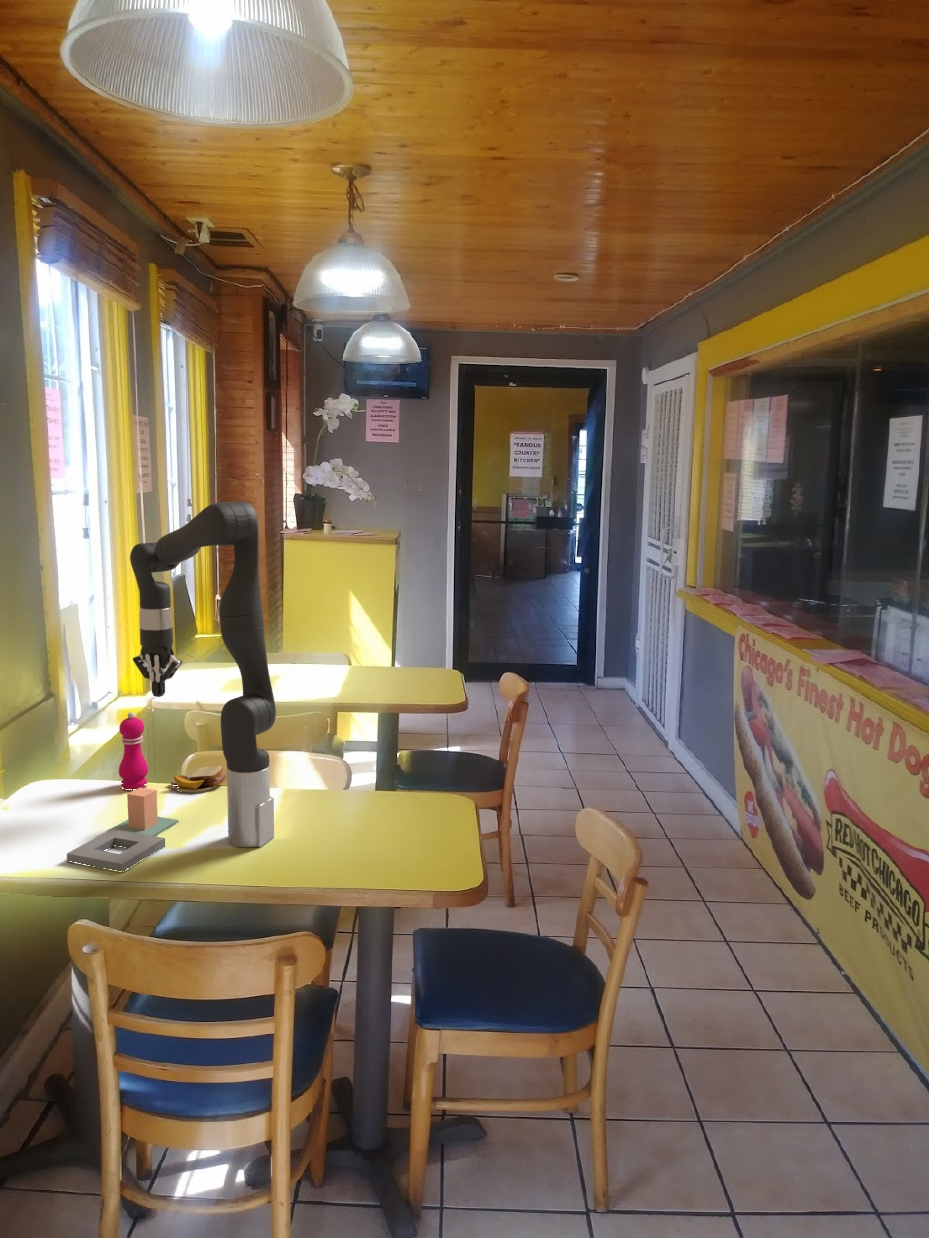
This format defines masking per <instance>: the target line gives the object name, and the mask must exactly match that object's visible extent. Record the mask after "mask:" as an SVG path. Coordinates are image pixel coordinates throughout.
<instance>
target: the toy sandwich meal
mask: <svg viewBox="0 0 929 1238" xmlns="http://www.w3.org/2000/svg"><path fill="white" fill-rule="evenodd" d="M225 780H227V774H226V772H225V770H224V767H223V765H218V766H217V765H215V766H207V767H205V766H204V767H199V768H198V769H196V771H194V772H193V773H191V774H189V773H188V774H186V775H173V778H172V779H171V780H170V782H171V783H170V786H171V788H172V789H173V790H175V789H176V790H179V791H182V792H181V793H183V792H188V793H187V794H199V793H206V792H209V791H212V790H215V789H216V788H217V787H218V786H220V785H221V784H222V783H223V782H225ZM173 785H178V786H173ZM177 787H179V788H177ZM176 790H175V791H176ZM179 791H178V792H179Z"/></svg>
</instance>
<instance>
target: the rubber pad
mask: <svg viewBox="0 0 929 1238" xmlns="http://www.w3.org/2000/svg"><path fill="white" fill-rule="evenodd" d="M157 818H158V823H157V824H155V825H153V826H152V827H150V828H148V829H146V830H141V829H136V828H130V827H129V824H128V819H126V820H124V821H123V822H121V823H118V824H117V825H115V826H113V827H112V828H110V829H108V830H107V831H109V830H111V829H116V830H122V831H128V832H133V833H139V834H145V835H150V836H156V835H157V834H158V835H160V834H161V833H160V832H162V831H163V832H165V831H167V830H168V829H170V828H171V827H174V826H176V825H177V824H178V823H179V819H175V818H171V817H170V818H169V817H163V816H158V815H157ZM176 823H177V824H176ZM166 829H167V830H166ZM164 830H165V831H164ZM163 832H162V833H163ZM159 833H160V834H159ZM158 835H157V836H158ZM157 836H156V837H157Z"/></svg>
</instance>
